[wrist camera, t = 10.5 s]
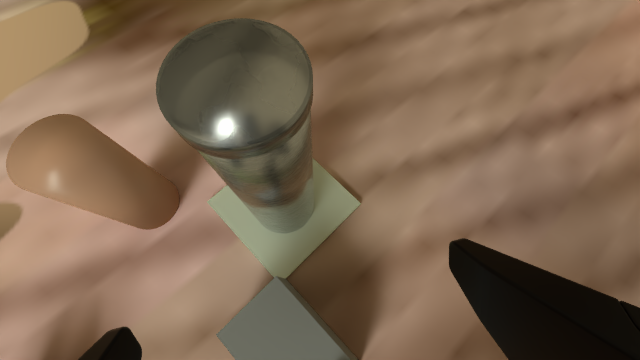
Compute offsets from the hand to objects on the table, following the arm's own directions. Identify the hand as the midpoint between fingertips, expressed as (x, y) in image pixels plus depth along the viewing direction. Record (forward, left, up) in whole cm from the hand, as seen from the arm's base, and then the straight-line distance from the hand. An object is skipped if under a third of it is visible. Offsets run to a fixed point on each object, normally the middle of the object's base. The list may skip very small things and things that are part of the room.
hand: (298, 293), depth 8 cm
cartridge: (+6, -3, -12) cm, 14 cm away
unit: (-2, +3, -13) cm, 13 cm away
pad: (+6, -3, -13) cm, 14 cm away
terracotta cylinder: (+13, +4, -13) cm, 19 cm away
